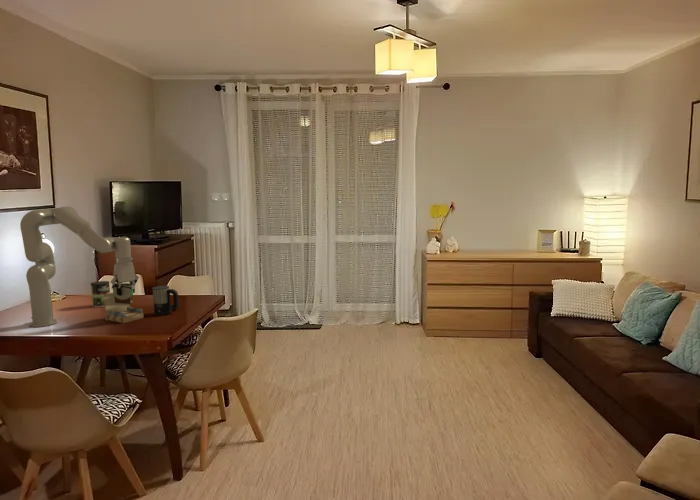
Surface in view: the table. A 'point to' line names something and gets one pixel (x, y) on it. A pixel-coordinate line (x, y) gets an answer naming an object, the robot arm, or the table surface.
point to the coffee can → (99, 292)
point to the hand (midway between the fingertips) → (126, 293)
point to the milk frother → (164, 300)
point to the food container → (124, 294)
